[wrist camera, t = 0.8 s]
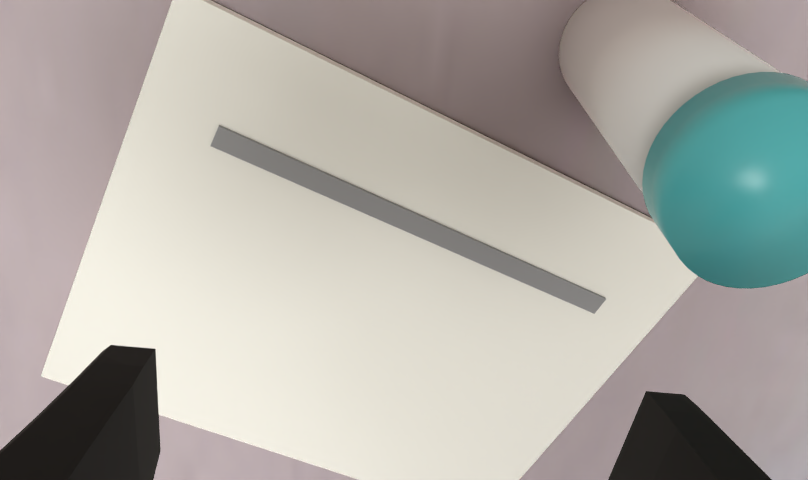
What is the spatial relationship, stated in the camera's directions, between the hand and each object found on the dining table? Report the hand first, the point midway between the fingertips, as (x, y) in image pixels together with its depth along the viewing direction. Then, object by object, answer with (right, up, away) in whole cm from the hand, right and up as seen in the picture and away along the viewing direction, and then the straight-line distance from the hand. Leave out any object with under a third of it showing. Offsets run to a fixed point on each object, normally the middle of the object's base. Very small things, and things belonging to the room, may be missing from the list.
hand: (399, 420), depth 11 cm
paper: (-1, +1, +11) cm, 11 cm away
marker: (+5, +7, +7) cm, 11 cm away
